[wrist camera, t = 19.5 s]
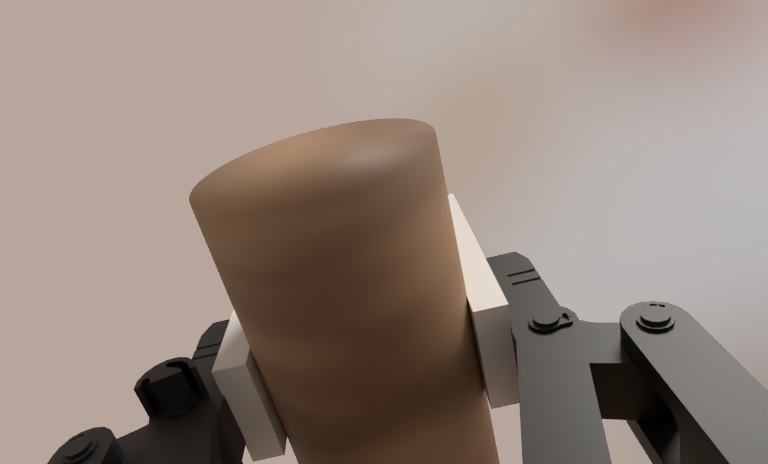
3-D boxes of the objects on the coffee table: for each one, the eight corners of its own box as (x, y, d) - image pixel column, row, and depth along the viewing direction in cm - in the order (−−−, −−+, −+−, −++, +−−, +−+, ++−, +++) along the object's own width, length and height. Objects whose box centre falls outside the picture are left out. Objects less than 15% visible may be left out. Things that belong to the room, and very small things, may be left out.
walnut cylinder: (321, 617, 13) (141, 235, 9) (349, 455, 18) (238, 146, 13) (522, 608, 13) (437, 180, 8) (499, 440, 17) (435, 104, 12)
